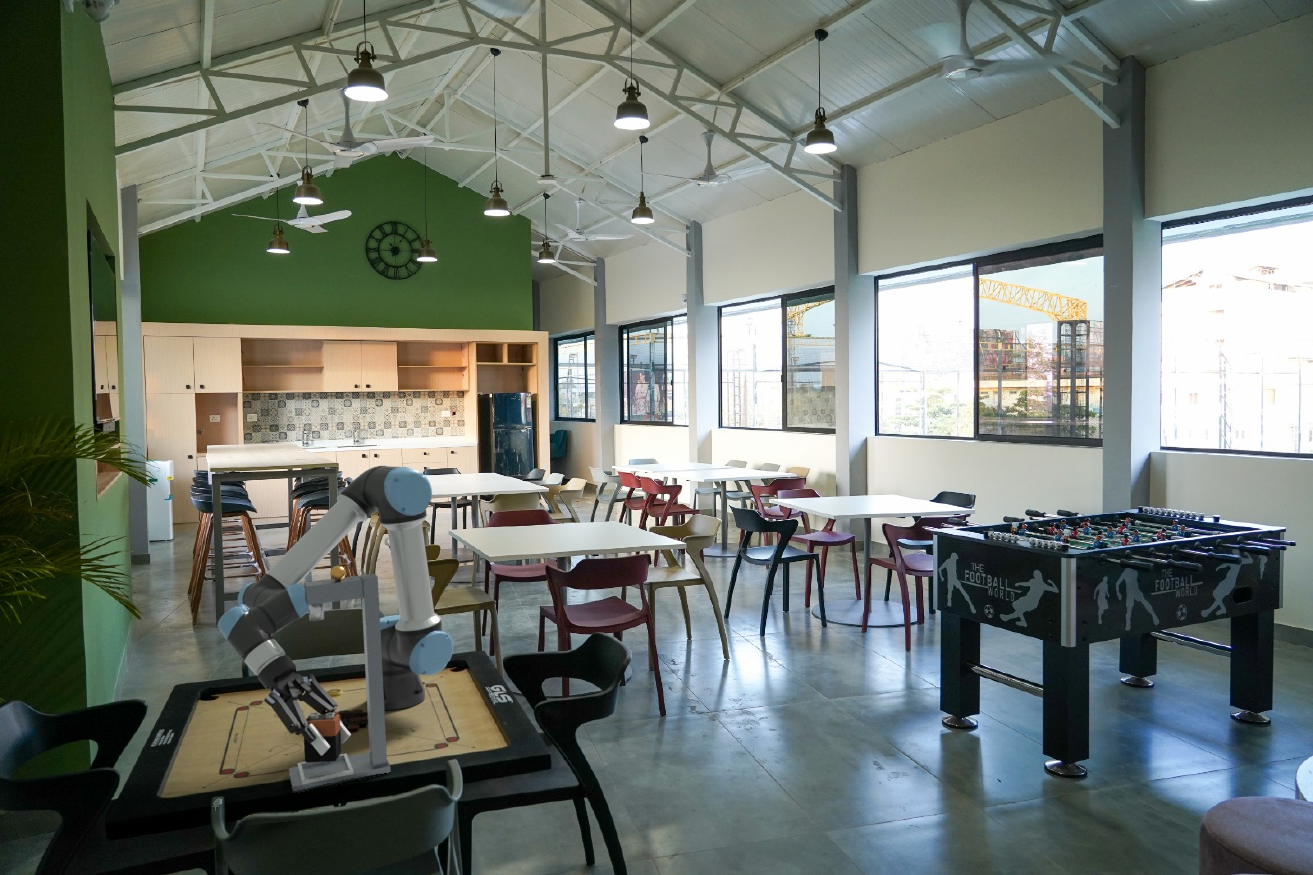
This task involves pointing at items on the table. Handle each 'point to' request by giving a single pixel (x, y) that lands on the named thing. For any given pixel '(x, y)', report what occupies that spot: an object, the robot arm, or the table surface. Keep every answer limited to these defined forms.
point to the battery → (329, 731)
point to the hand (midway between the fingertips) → (336, 744)
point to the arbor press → (377, 757)
